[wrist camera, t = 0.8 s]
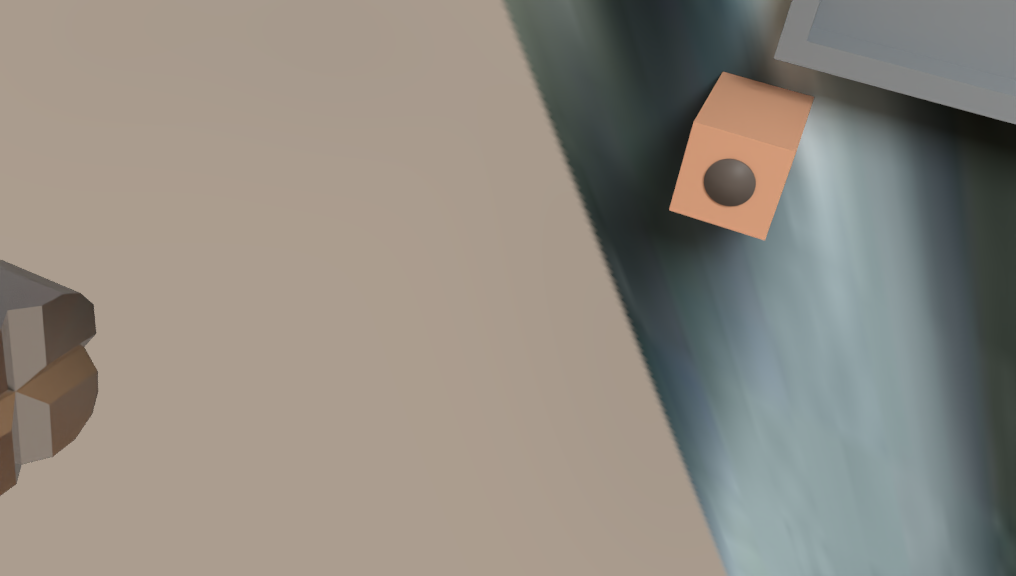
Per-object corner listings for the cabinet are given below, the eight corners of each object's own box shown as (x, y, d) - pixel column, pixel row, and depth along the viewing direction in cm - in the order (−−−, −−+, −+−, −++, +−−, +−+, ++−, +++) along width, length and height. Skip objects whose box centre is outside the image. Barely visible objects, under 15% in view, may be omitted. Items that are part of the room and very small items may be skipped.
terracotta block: (722, 71, 41) (693, 122, 37) (814, 96, 40) (796, 152, 36) (699, 152, 44) (668, 211, 39) (785, 178, 43) (764, 241, 38)
